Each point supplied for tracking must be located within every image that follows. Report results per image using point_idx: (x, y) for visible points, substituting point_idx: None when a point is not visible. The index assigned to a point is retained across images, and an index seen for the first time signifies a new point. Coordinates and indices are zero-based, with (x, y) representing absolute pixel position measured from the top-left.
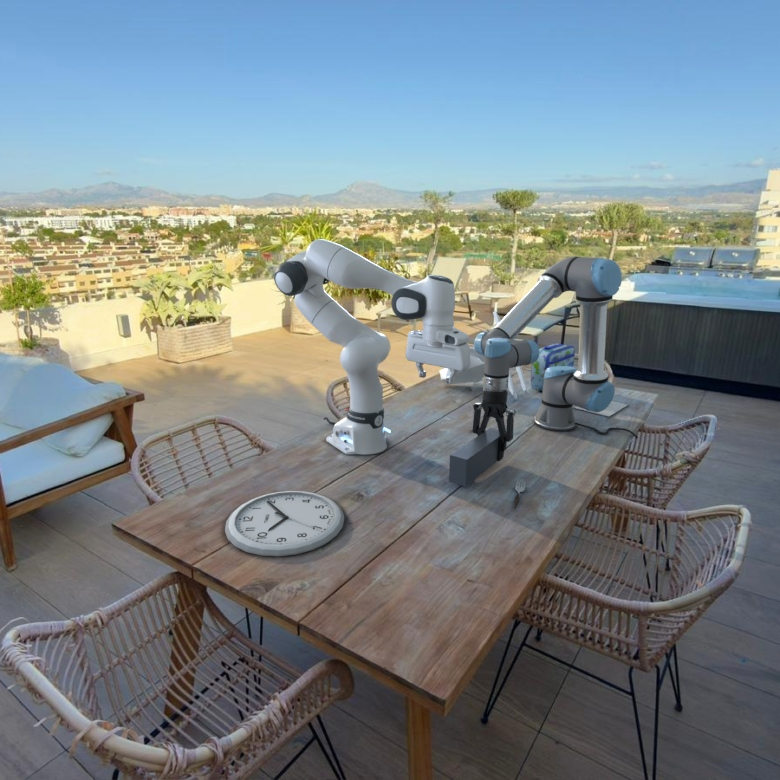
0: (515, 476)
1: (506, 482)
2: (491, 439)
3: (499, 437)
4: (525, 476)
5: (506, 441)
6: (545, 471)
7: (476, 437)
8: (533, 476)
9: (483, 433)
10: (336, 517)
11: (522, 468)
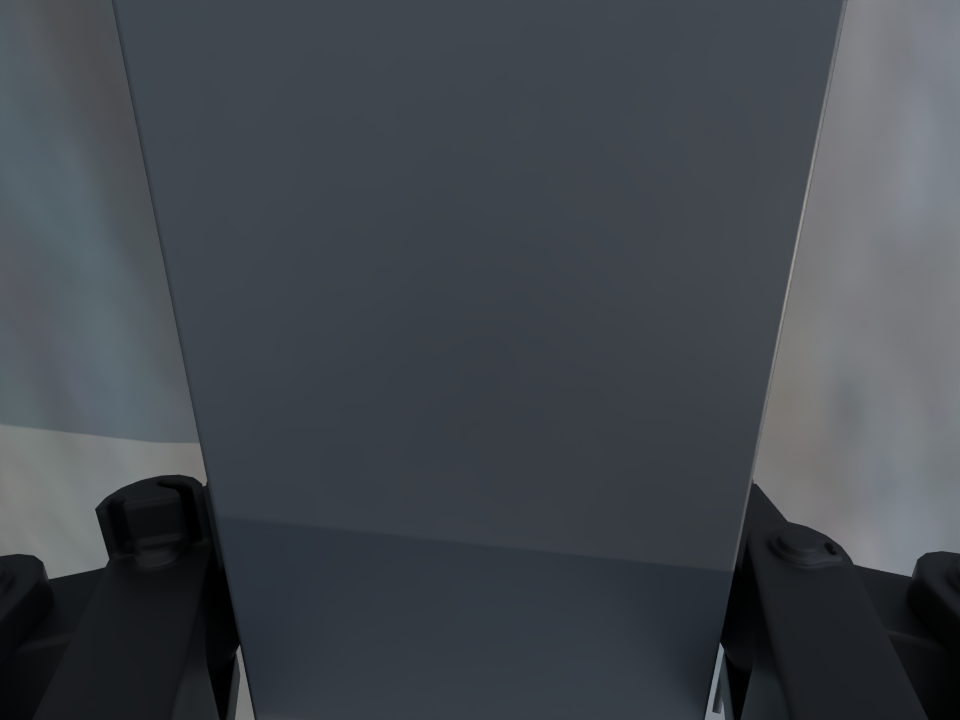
0: (122, 260)
1: (89, 39)
2: (270, 324)
3: (249, 613)
4: (56, 326)
5: (93, 572)
6: (12, 528)
7: (789, 164)
8: (7, 375)
9: (690, 575)
10: None
11: (189, 465)
